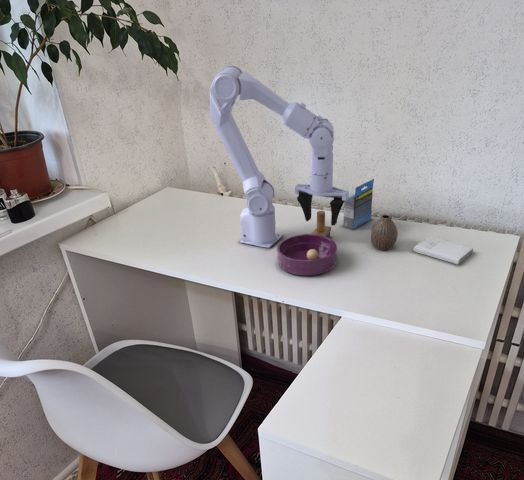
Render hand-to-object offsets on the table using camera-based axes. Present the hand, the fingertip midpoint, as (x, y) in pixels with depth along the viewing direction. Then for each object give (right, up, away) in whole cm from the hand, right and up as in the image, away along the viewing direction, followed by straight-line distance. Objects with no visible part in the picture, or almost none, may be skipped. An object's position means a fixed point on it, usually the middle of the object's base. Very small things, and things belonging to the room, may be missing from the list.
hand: (321, 221), depth 139 cm
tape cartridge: (+12, +2, +12) cm, 17 cm away
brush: (0, -4, +4) cm, 6 cm away
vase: (+17, -7, -2) cm, 18 cm away
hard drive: (+31, -10, -6) cm, 33 cm away
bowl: (-4, -12, -6) cm, 14 cm away
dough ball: (-3, -10, -7) cm, 13 cm away
